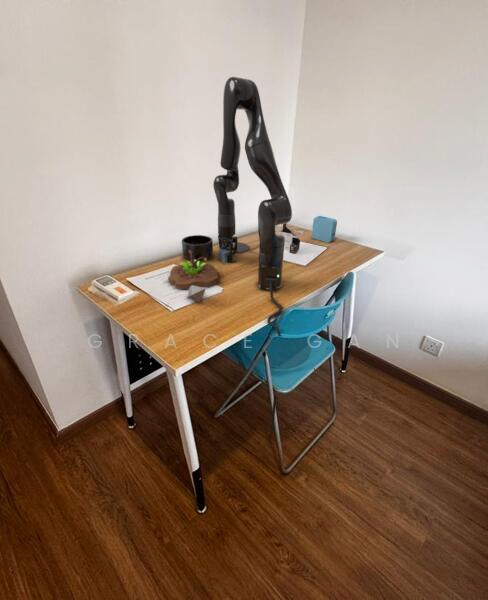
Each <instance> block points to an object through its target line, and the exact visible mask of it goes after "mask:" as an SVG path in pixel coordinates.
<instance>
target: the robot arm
mask: <svg viewBox="0 0 488 600" xmlns="http://www.w3.org/2000/svg"><path fill="white" fill-rule="evenodd" d="M222 96H223V98H222V129H223V131H222V134H223V135H222V146H221V147H222V148H221V153H220V154H221V155H220V162H219V163H220V167H221V168H222V169H223V170H226V174H219V175H216V177H214V179H213V183H212V186H213V190H214V194H215V198H216V201H217V240H218V247H219V249H220V248H221V249H220V250H222V249H226V250H227V263H228V264H230V263H233V261H232V255H234V256H235V255H236V253H235V252H236V243H234V242H233V238H232V237H234V236H235V235H236V202H235V200H234V198H231V197H228V194H229V193H234V192H237V190H238V188H239V185H240V173H239V172H240V171H239V162H240V156H241V149H242V147H241V140H240V137H239V133H238V129H237V125H236V117H237V110H238V111H239V110H241V111H244V113H245V115H246V118H247V122H248V130H247V133H246V137H245V141H244V151H245V155H246V159H247V162H248V165H249V167H250V169H251V171H252V172H253V174H255V176H256V177H257V178H258V179H259V180H260V181H261V182H262V184H263V185H264V186H265V188H266V189H267V192H268V193H269V196H270V198H268V199H263V200H261V202H260V203H259V205H258V209H257V233H258V238H259V246H258V247H259V249H258V268H257V269H258V271H257V272H258V273H257V286H258V288H260V290H262V291H263V290H265V291H269V295H270V300H271V302H272V303H273V304H274V305H276V306H277V307H278V308H279V309H278V310H277V311H276V312H273V313H272V314H270V315H269V316H268V318H267V324H268V325H269V326H271V327H272V328H273V329H275V331H276V332H277V336H278V337H280V338H281V337H282V333H281V330H280V328H279V327H278V326H277V325H276V324H275V323H273V322H271V319H273V318H274V317H275V316H277V315H279V314H280V313H281V312H282V310H283V306H282V305H281V304H280V303H278V302H277V301H276V300H275V298H274V293H273V292H277V290H279V289H280V288H282V285H283V283H282V281H283V280H282V279H283V267H284V260H283V256H284V244H285V237H284V236H283V235H282V234H279V232H276V226H281V225H282V226H283V224H286V225H287V224H288V223H290V221H291V220H292V217H293V209H292V204H291V202H290V199H289V196H288V194H287V193H288V192H287V191H286V189H285V186H284V183H283V180H282V178H281V174H280V171H279V168H278V165H277V162H276V158H275V153H274V151H273V147H272V143H271V140H270V137H269V134H268V129H267V125H266V121H265V118H264V113H263V108H262V102H261V96H260V91H259V88H258V86H257V84H256V83H255V81H253V80H252V79H248V78H243V77H237V76H230V77H229V78H228V79H227V80H226V81H225V84H224V88H223V95H222ZM227 247H230V248H227ZM272 400H273V402H272V404H273V405H272V414H271V423H270V438H273V437H274V430H275V429H274V426H275V417H276V405H277V396H276V395H274V396H273V399H272Z"/></svg>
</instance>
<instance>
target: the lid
mask: <svg viewBox="0 0 488 600" xmlns="http://www.w3.org/2000/svg"><path fill="white" fill-rule="evenodd" d="M232 238H233V242H234V243H236V252H235V254H242V253H246V252H248V251H249V250H250V246H249V245H248V244H246V243H244V242H239V241H238V236H235V235H234V236H233V237H232ZM227 248H230V247H227ZM219 250H221V248H219Z"/></svg>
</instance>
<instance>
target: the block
mask: <svg viewBox="0 0 488 600" xmlns="http://www.w3.org/2000/svg"><path fill="white" fill-rule="evenodd" d="M219 260H220V261H221V262H223V263H224V264H226V263H228V262H227V250H226V249H222V250H221V249H219ZM232 262H235V255H232Z"/></svg>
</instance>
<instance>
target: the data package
mask: <svg viewBox="0 0 488 600" xmlns="http://www.w3.org/2000/svg"><path fill="white" fill-rule="evenodd" d="M312 221H313V222H312V229H311V238H312V239H314V240H318V241H321V242H325V243H328V244H329V243H331V242H333V241H334V240H335V238H336V233H337V232H336V231H337V226H338V220H337V219H336V218H331V217H327V216H323V215H317V216H315V217H314V218H313V220H312Z"/></svg>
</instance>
